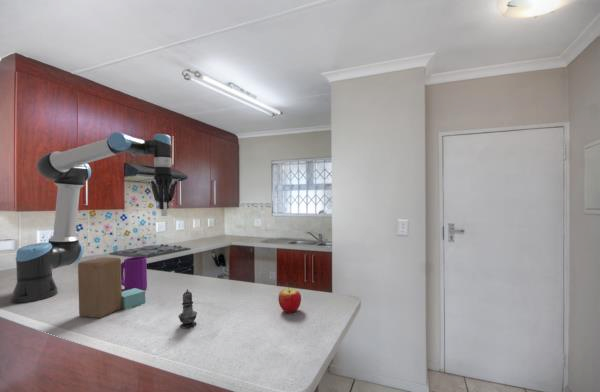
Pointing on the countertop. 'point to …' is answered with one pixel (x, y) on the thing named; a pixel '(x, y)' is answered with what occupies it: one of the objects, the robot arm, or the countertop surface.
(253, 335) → the countertop surface
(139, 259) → the mug
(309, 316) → the countertop surface
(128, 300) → the teal block
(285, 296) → the apple
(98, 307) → the wooden block
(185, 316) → the grey chess piece
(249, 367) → the countertop surface
